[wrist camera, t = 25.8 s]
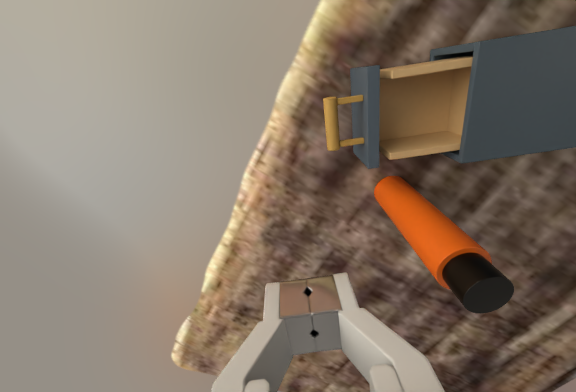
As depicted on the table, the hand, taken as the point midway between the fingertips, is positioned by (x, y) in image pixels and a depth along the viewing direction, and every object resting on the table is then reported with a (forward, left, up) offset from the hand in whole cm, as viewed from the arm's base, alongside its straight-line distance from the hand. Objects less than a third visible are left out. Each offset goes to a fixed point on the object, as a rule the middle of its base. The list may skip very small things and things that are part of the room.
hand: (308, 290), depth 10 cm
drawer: (-8, -9, -26) cm, 29 cm away
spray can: (-17, -1, -27) cm, 32 cm away
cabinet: (-18, -17, -27) cm, 37 cm away
